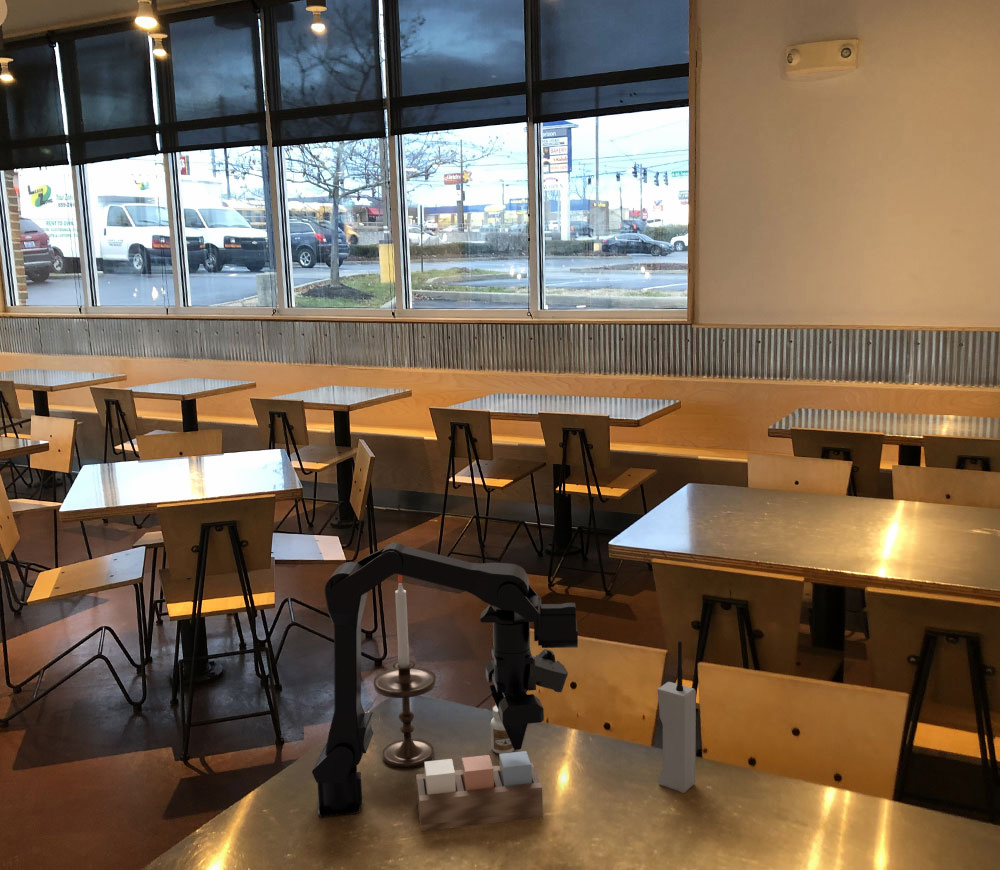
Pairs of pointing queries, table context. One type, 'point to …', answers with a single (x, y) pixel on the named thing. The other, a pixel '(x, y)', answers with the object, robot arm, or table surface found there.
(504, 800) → the key housing
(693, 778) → the vintage mobile phone
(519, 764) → the key slate
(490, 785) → the key terracotta
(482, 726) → the table surface
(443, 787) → the key white
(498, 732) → the pill bottle
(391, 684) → the candlestick
